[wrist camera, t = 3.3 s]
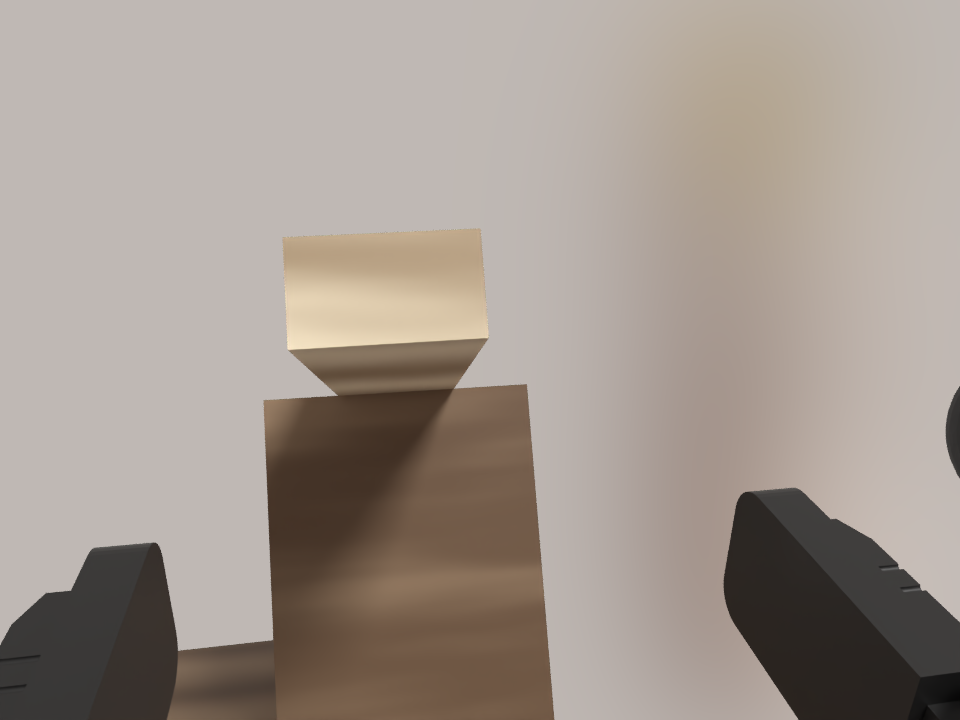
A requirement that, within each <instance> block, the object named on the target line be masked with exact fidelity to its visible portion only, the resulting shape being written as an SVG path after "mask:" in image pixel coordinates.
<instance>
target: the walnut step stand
mask: <svg viewBox="0 0 960 720" xmlns="http://www.w3.org/2000/svg"><path fill="white" fill-rule="evenodd" d="M264 421H265V444H266V445H265V446H266V469H267V493H268V518H269V543H270V567H271V591H272V615H273V640H272V641H263V642H254V643H245V644H236V645H227V646H218V647H209V648H200V649H191V650H183V651H182V650H181V651H178V666H177V677H176V683H175V688H174V692H173V697H172V701H171V705H170V709H169V713H168V717H167V720H554V711H553V698H552V686H551V676H550V675H551V674H550V662H549V650H548V638H547V625H546V614H545V601H544V589H543V576H542V566H541V565H542V564H541V552H540V540H539V528H538V516H537V503H536V491H535V479H534V467H533V454H532V442H531V431H530V419H529V406H528V393H527V385H526V384H525V385H509V386H491V387H475V388H459V389H442V390H426V391H410V392H393V393H377V394H360V395H344V396H327V397H311V398H295V399H279V400H264Z"/></svg>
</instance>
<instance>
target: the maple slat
mask: <svg viewBox="0 0 960 720" xmlns="http://www.w3.org/2000/svg"><path fill="white" fill-rule="evenodd" d="M283 255H284V277H285V299H286V321H287V340H288V341H287V342H288V351H290V352H291V353H292V354H293V355H294V356H295V357H296V358H297V359H298V360H300V361H301V362H302V363H303V364H304V365H305V366H306V367H307V368H308V369H309V370H310V371H312V372H313V373H314V374H315V375H316V376H317V377H318V378H319V379H320V380H321V381H323V382H324V383H325V384H326V385H327V386H328V387H329V388H330V389H331V390H332V391H334V392H335V393H336V394H337V395H338V396H344V395H360V394H377V393H393V392H410V391H426V390H442V389H454V388H455V386H456V385H457V383H458V382H459V380H460V379H461V377H462V376H463V374H464V373H465V372H466V370H467V369H468V367H469V366H470V364H471V363H472V362H473V360H474V359H475V357H476V356H477V354H478V353H479V351H480V350H481V348H482V347H483V345H484V344H485V342H486V341H487V340H488V338H489V334H488V321H487V308H486V295H485V282H484V269H483V256H482V244H481V230H480V229H459V230H436V231H414V232H395V233H394V232H393V233H370V234H350V235H349V234H348V235H327V236H303V237H283Z"/></svg>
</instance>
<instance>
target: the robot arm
mask: <svg viewBox="0 0 960 720" xmlns="http://www.w3.org/2000/svg"><path fill="white" fill-rule="evenodd" d="M946 443H947V448H948V452H949V456H950V459H951V462H952V464H953V466H954V468H955V470H956V473H957V475H958V476H959V478H960V387H959V388H958V390H957V392H956V393H955V395H954V398H953V400H952V402H951V405H950V408H949V411H948V415H947V422H946ZM724 575H725V576H724V595H725V600H726V605H727V608H728V611H729V614H730V616H731V618H732V620H733V622H734V624H735V626H736V627H737V629H738V630H739V631H740V633H741V634H742V636H743V637H744V639H745V640H746V642H747V643H748V645H749V646H750V648H751V649H752V651H753V652H754V654H755V655H756V657H757V658H758V660H759V661H760V663H761V664H762V666H763V667H764V669H765V670H766V672H767V673H768V675H769V676H770V678H771V679H772V681H773V682H774V684H775V685H776V687H777V688H778V689H779V691H780V693H781V694H782V696H783V697H784V699H785V700H786V701H787V703H788V704H789V706H790V707H791V709H792V710H793V712H794V713H795V715H796V716H797V718H798V719H799V720H960V622H959V621H958V620H957V619H955V618H954V617H953V616H952V615H951V614H950V613H949V612H948V611H947V610H946V609H945V608H944V607H943V606H942V605H941V604H940V603H939V602H938V601H936V600H935V599H934V598H933V597H932V596H931V595H930V594H929V593H928V592H927V591H922V590H921V588H920V584H918V582H917V581H915V580H914V579H913V578H912V577H911V576H910V575H909V574H908V573H907V572H906V571H905V570H904V569H901V570H900V569H899V567H898V564H897V562H895V561H894V560H893V559H892V558H891V557H890V556H889V555H888V554H887V553H886V552H885V551H884V550H883V549H882V548H881V547H879V545H878V544H877V543H875V542H874V541H873V540H872V539H871V538H869V537H867V536H865V535H864V534H862V533H860V532H858V531H857V530H855V529H853V528H851V527H850V526H848V525H846V524H844V523H842V522H841V521H839V520H837V519H830V518H829V517H828V516H827V515H825V513H824V512H823V511H822V510H821V509H820V508H819V507H818V506H817V505H815V503H813V502H812V501H811V500H810V499H809V498H808V497H807V496H806V495H805V494H804V493H803V492H802V491H801V490H799V489H797V488H786V489H775V490H764V491H753V492H745V493H743V494H742V495H741V496H740V498H739V499H738V502H737V505H736V509H735V515H734V521H733V528H732V533H731V540H730V545H729V551H728V557H727V563H726V569H725V574H724ZM177 666H178V646H177V636H176V630H175V624H174V618H173V612H172V607H171V602H170V596H169V590H168V585H167V579H166V574H165V569H164V563H163V557H162V553H161V550H160V548H159V546H158V544H157V543H145V544H133V545H123V546H111V547H99V548H94V549H92V550H91V551H90V552H89V554H88V556H87V558H86V560H85V562H84V565H83V567H82V569H81V571H80V573H79V575H78V577H77V579H76V582H75V584H74V586H73V588H72V590H71V591H64V592H54V593H46V594H45V595H44V596H43V597H42V598H40V599H39V600H38V601H37V602H36V603H35V604H34V605H33V606H31V607H30V608H29V609H28V610H27V611H26V612H25V613H24V614H23V615H22V616H21V617H19V619H17V620H16V621H15V622H14V623H13V624H12V625H11V627H10V628H9V630H8V632H7V634H6V636H5V638H4V639H3V641H2V643H1V645H0V720H167V717H168V713H169V709H170V705H171V701H172V697H173V692H174V688H175V683H176V677H177Z"/></svg>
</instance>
